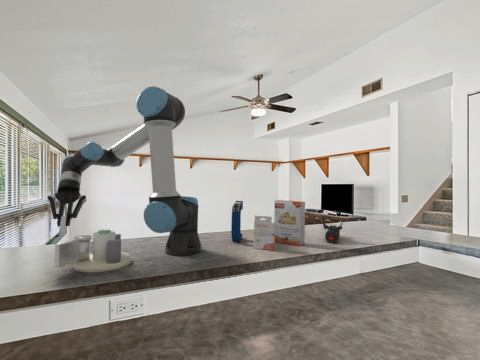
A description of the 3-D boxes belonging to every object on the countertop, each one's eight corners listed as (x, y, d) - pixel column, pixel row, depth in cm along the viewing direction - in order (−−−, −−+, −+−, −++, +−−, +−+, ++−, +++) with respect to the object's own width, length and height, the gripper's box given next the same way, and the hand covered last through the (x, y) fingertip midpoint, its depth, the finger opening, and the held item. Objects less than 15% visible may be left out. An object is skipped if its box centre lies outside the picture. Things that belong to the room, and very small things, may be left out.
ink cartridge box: (274, 247, 124) (275, 215, 124) (271, 250, 119) (272, 216, 120) (256, 246, 127) (257, 214, 127) (253, 248, 123) (253, 215, 123)
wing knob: (82, 257, 97) (82, 234, 97) (94, 258, 96) (95, 235, 96) (49, 268, 85) (50, 242, 85) (63, 269, 83) (64, 243, 83)
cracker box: (273, 242, 136) (274, 200, 136) (278, 240, 141) (279, 199, 141) (300, 246, 128) (300, 201, 128) (304, 244, 133) (305, 201, 133)
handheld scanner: (243, 237, 146) (243, 200, 147) (240, 244, 130) (240, 203, 131) (234, 237, 147) (234, 200, 147) (231, 243, 131) (230, 202, 131)
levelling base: (130, 255, 108) (130, 224, 108) (132, 268, 92) (132, 231, 92) (77, 259, 101) (78, 226, 101) (69, 275, 84) (70, 235, 84)
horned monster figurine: (343, 237, 153) (343, 219, 153) (341, 245, 132) (342, 224, 132) (325, 235, 156) (325, 218, 156) (320, 243, 136) (321, 223, 136)
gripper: (88, 191, 116) (84, 237, 101) (51, 191, 110) (41, 240, 95) (87, 178, 111) (82, 225, 96) (49, 178, 106) (37, 227, 90)
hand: (62, 232), depth 95 cm, fingers closed
